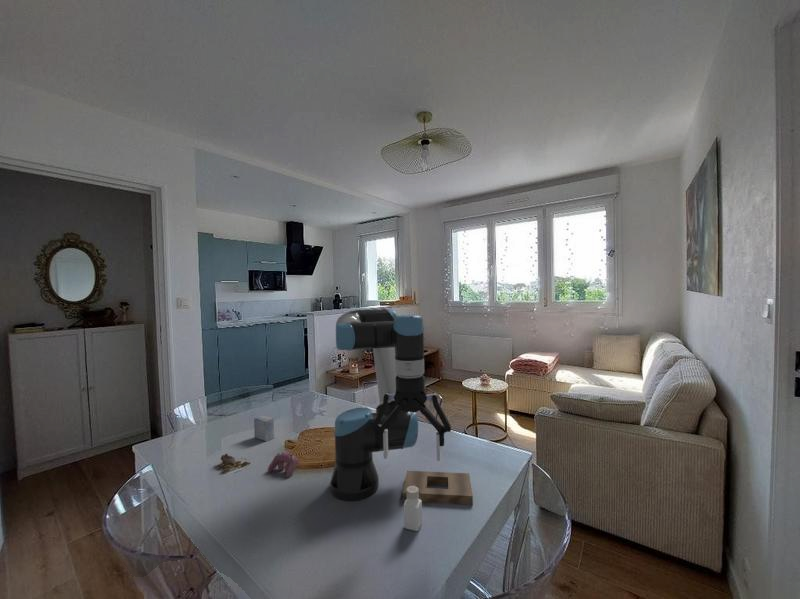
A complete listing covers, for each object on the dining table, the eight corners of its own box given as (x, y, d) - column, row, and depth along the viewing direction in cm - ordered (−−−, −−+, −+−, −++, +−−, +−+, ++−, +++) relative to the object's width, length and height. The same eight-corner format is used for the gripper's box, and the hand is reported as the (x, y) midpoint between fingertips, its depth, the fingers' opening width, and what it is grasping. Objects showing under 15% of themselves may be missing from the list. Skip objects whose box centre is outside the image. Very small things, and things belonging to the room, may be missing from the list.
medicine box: (274, 438, 141) (274, 418, 141) (265, 442, 137) (265, 421, 137) (263, 434, 145) (262, 414, 145) (254, 438, 141) (253, 418, 141)
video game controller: (296, 477, 111) (302, 455, 114) (287, 478, 108) (293, 454, 110) (274, 472, 116) (281, 450, 118) (265, 472, 112) (272, 449, 115)
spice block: (402, 500, 95) (402, 492, 95) (407, 478, 107) (407, 470, 107) (472, 504, 92) (472, 496, 92) (469, 481, 104) (469, 473, 104)
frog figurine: (204, 472, 114) (204, 461, 114) (235, 457, 125) (235, 447, 125) (226, 479, 109) (225, 468, 109) (256, 463, 120) (256, 452, 120)
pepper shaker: (403, 529, 83) (402, 492, 83) (408, 519, 87) (407, 483, 87) (418, 532, 82) (417, 495, 82) (423, 522, 85) (422, 486, 85)
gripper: (359, 378, 82) (361, 462, 82) (459, 378, 79) (461, 466, 79) (366, 371, 89) (368, 448, 89) (458, 371, 86) (460, 451, 86)
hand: (412, 457), depth 84 cm, fingers open, 13 cm apart
